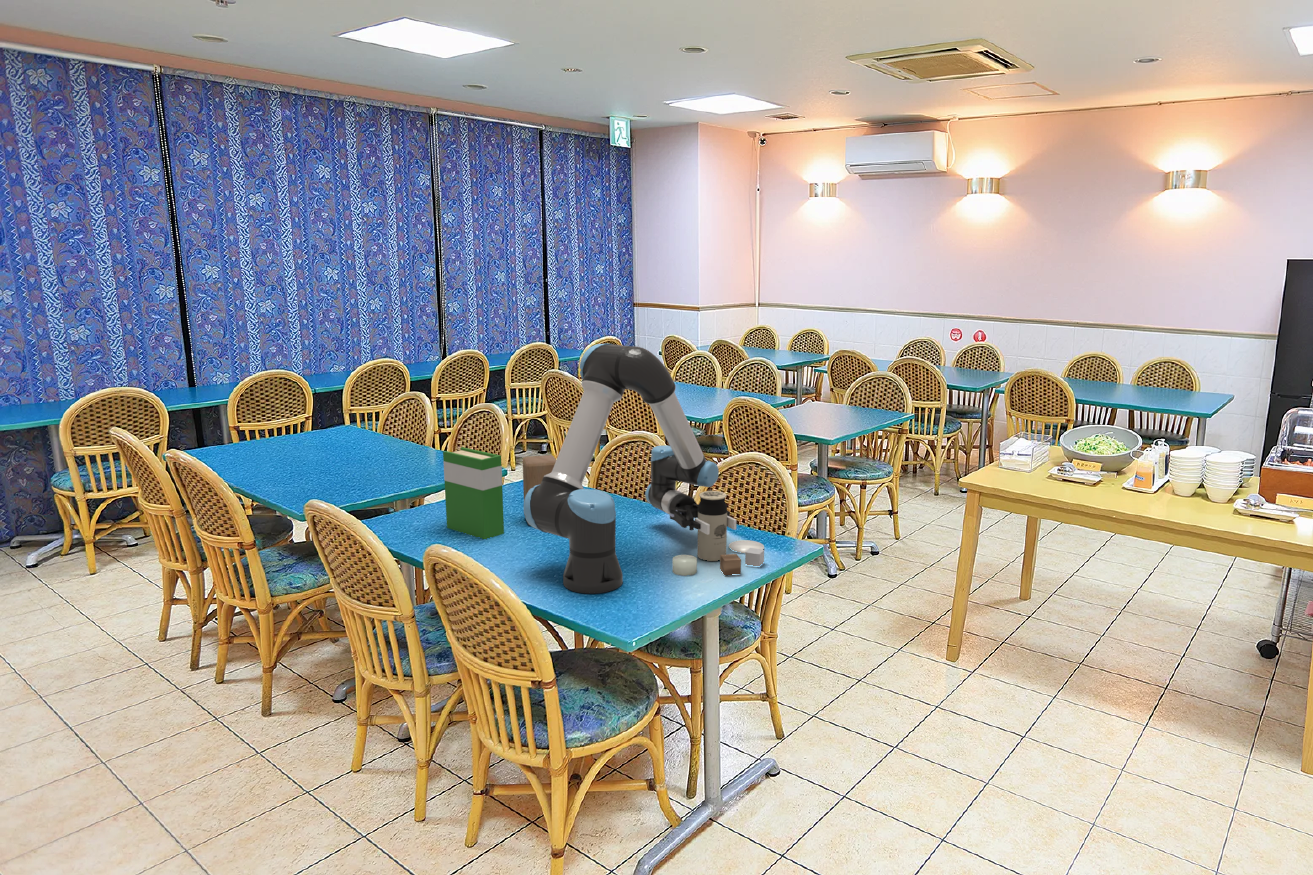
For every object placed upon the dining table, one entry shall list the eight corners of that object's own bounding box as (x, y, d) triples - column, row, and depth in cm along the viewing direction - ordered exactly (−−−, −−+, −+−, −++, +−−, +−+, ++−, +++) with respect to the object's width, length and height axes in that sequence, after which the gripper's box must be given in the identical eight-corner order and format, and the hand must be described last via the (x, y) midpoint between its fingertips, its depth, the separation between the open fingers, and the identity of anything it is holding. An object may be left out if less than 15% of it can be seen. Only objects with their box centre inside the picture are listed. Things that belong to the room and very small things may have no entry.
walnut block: (740, 575, 225) (741, 559, 224) (724, 576, 225) (724, 560, 224) (736, 569, 230) (736, 553, 229) (720, 570, 229) (720, 554, 228)
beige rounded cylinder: (695, 576, 224) (695, 563, 224) (670, 575, 225) (670, 562, 225) (698, 568, 231) (698, 555, 230) (674, 566, 232) (674, 554, 231)
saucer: (763, 554, 240) (763, 552, 240) (727, 552, 242) (727, 550, 242) (764, 543, 250) (764, 541, 250) (730, 541, 251) (730, 539, 251)
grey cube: (759, 568, 230) (759, 554, 229) (745, 566, 232) (745, 552, 231) (763, 563, 234) (764, 549, 233) (749, 561, 235) (750, 547, 235)
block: (527, 526, 265) (526, 463, 260) (524, 517, 274) (522, 456, 270) (560, 524, 267) (558, 461, 263) (555, 514, 277) (553, 454, 272)
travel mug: (692, 553, 241) (693, 492, 237) (718, 550, 244) (719, 489, 240) (704, 563, 234) (705, 499, 230) (731, 559, 236) (732, 496, 233)
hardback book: (446, 527, 263) (442, 451, 258) (466, 522, 269) (462, 447, 264) (484, 539, 253) (481, 460, 248) (504, 533, 258) (501, 455, 253)
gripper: (709, 512, 258) (753, 534, 238) (648, 523, 248) (688, 546, 228) (709, 488, 256) (753, 508, 236) (648, 498, 246) (689, 519, 227)
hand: (721, 527), depth 232 cm, fingers closed on travel mug, 8 cm apart
